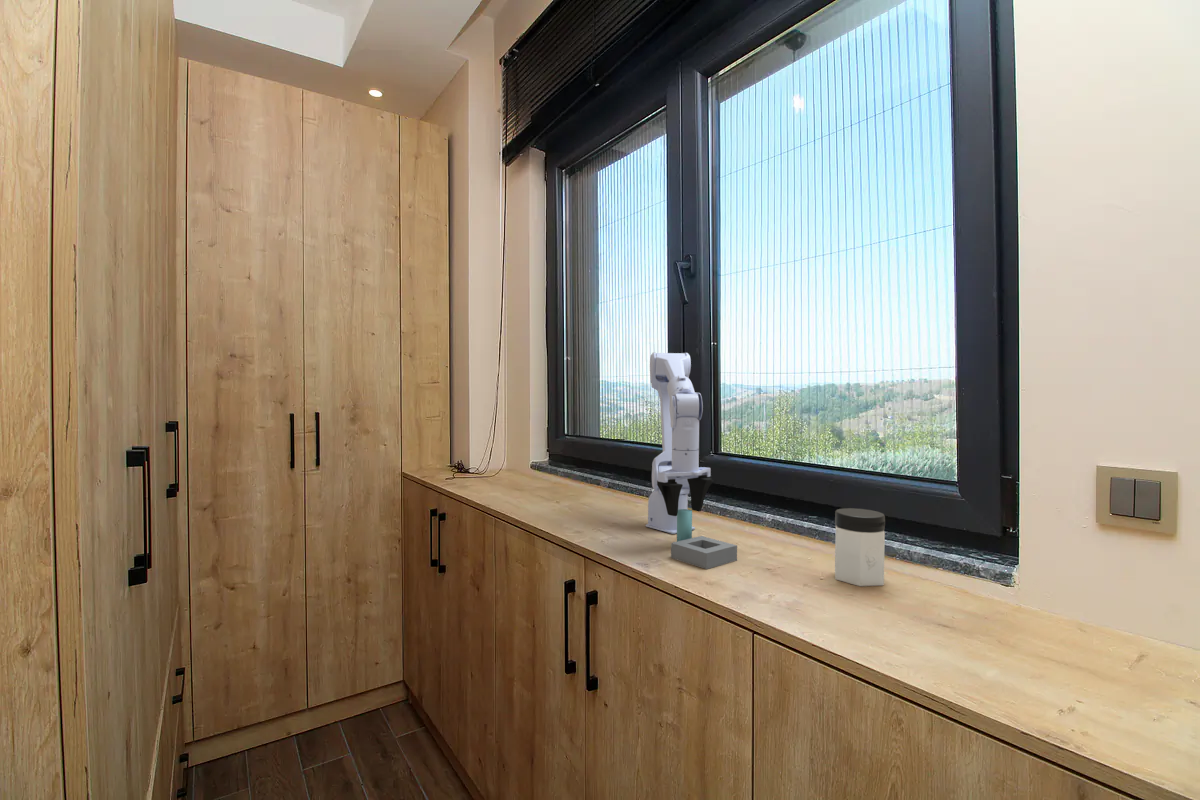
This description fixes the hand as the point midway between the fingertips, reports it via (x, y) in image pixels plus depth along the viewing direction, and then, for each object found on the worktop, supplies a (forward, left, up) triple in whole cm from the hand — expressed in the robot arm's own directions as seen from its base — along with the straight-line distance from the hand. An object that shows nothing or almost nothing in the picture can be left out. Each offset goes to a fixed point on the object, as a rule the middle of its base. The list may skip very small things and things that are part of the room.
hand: (684, 512), depth 121 cm
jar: (+33, +10, -8) cm, 35 cm away
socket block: (+8, -3, -8) cm, 11 cm away
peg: (0, 0, -8) cm, 8 cm away
